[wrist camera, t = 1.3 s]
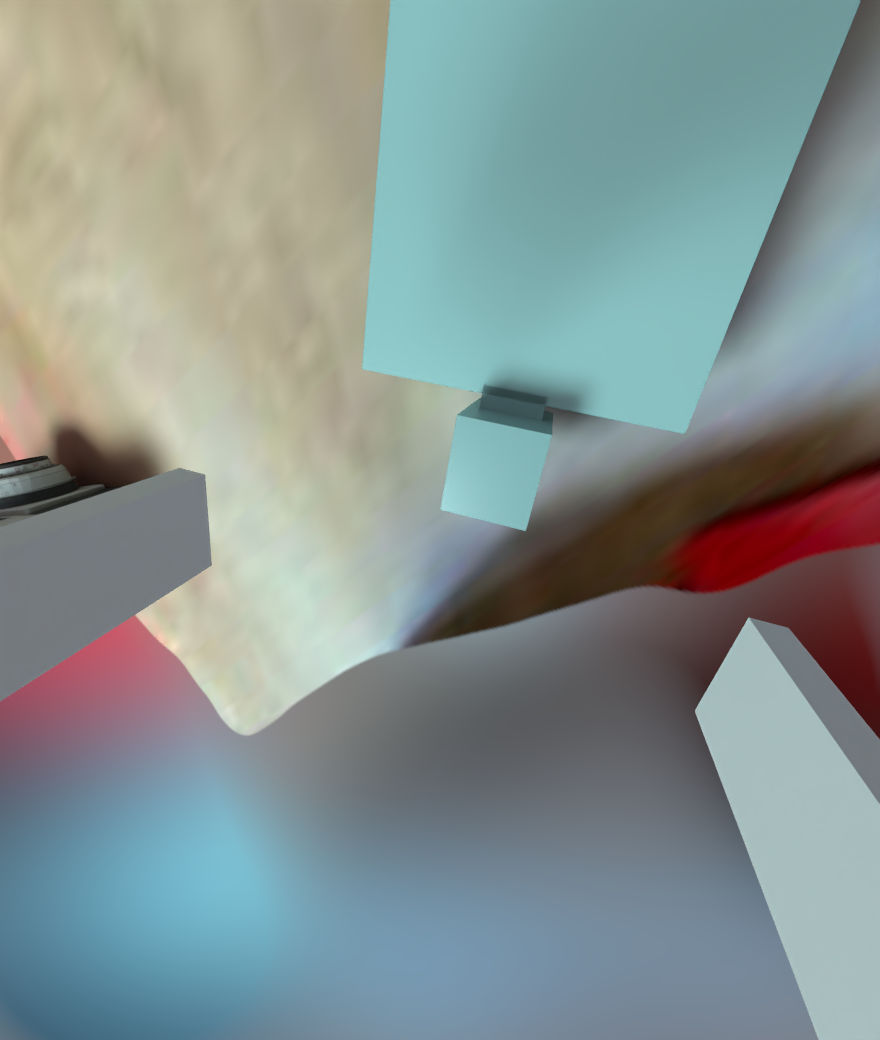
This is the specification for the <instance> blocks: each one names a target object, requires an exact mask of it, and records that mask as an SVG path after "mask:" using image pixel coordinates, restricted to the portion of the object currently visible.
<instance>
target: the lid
mask: <svg viewBox="0 0 880 1040" xmlns="http://www.w3.org/2000/svg"><path fill="white" fill-rule="evenodd" d="M860 1H861V0H391V2H390V15H389V28H388V41H387V54H386V67H385V80H384V93H383V106H382V119H381V132H380V145H379V157H378V170H377V183H376V196H375V209H374V222H373V235H372V248H371V261H370V274H369V287H368V300H367V313H366V326H365V339H364V352H363V365H362V369H364V370H369V371H374V372H379V373H384V374H389V375H394V376H399V377H404V378H409V379H414V380H419V381H424V382H429V383H434V384H439V385H444V386H449V387H454V388H459V389H464V390H469V391H474V392H478V393H482V397H481V398H479V399H478V400H477V401H475V402H474V403H473V404H471V405H470V406H469V407H467V408H466V409H465V410H463V411H462V412H461V413H459V414H458V415H457V418H456V424H455V429H454V435H453V441H452V447H451V452H450V458H449V464H448V470H447V475H446V481H445V487H444V493H443V498H442V504H441V510H444V511H448V512H452V513H456V514H460V515H464V516H468V517H472V518H476V519H480V520H484V521H488V522H492V523H496V524H500V525H504V526H508V527H512V528H516V529H520V530H524V531H526V528H527V524H528V521H529V517H530V513H531V510H532V506H533V502H534V499H535V495H536V491H537V488H538V484H539V480H540V477H541V473H542V469H543V466H544V462H545V458H546V455H547V451H548V447H549V444H550V440H551V437H552V422H553V413H551V412H546V411H544V410H545V407H546V406H548V407H553V408H558V409H563V410H568V411H573V412H578V413H583V414H588V415H593V416H598V417H603V418H608V419H613V420H618V421H623V422H628V423H633V424H638V425H643V426H648V427H653V428H658V429H663V430H668V431H673V432H678V433H683V434H685V432H686V430H687V427H688V425H689V422H690V420H691V417H692V415H693V412H694V410H695V407H696V405H697V402H698V400H699V398H700V395H701V393H702V390H703V388H704V385H705V383H706V380H707V378H708V375H709V373H710V370H711V368H712V366H713V363H714V361H715V358H716V356H717V353H718V351H719V348H720V346H721V343H722V341H723V339H724V336H725V334H726V331H727V329H728V326H729V324H730V321H731V319H732V316H733V314H734V311H735V309H736V307H737V304H738V302H739V299H740V297H741V294H742V292H743V289H744V287H745V284H746V282H747V279H748V277H749V275H750V272H751V270H752V267H753V265H754V262H755V260H756V257H757V255H758V252H759V250H760V247H761V245H762V243H763V240H764V238H765V235H766V233H767V230H768V228H769V225H770V223H771V220H772V218H773V216H774V213H775V211H776V208H777V206H778V203H779V201H780V198H781V196H782V193H783V191H784V188H785V186H786V184H787V181H788V179H789V176H790V174H791V171H792V169H793V166H794V164H795V161H796V159H797V156H798V154H799V152H800V149H801V147H802V144H803V142H804V139H805V137H806V134H807V132H808V129H809V127H810V124H811V122H812V120H813V117H814V115H815V112H816V110H817V107H818V105H819V102H820V100H821V97H822V95H823V93H824V90H825V88H826V85H827V83H828V80H829V78H830V75H831V73H832V70H833V68H834V65H835V63H836V61H837V58H838V56H839V53H840V51H841V48H842V46H843V43H844V41H845V38H846V36H847V33H848V31H849V29H850V26H851V24H852V21H853V19H854V16H855V14H856V11H857V9H858V6H859V4H860Z"/></svg>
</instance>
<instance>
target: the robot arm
mask: <svg viewBox="0 0 880 1040" xmlns="http://www.w3.org/2000/svg"><path fill="white" fill-rule="evenodd" d="M211 565H212V562H211V549H210V535H209V522H208V508H207V495H206V481H205V475H204V474H200V473H197V472H193V471H189V470H185V469H181V468H178V469H175V470H172V471H169V472H166V473H163V474H160V475H157V476H154V477H151V478H148V479H145V480H142V481H139V482H136V483H133V484H130V485H127V486H124V487H121V488H118V489H115V490H111V491H108V492H105V493H102V494H99V495H96V496H93V497H90V498H87V499H84V500H81V501H78V502H75V503H72V504H69V505H66V506H63V507H60V508H57V509H54V510H51V511H48V512H45V513H42V514H39V515H36V516H33V517H30V518H27V519H24V520H21V521H18V522H14V523H11V524H8V525H5V526H2V527H0V701H1V700H3V699H4V698H6V697H8V696H9V695H11V694H12V693H14V692H15V691H17V690H18V689H20V688H22V687H23V686H25V685H26V684H28V683H29V682H31V681H33V680H34V679H36V678H37V677H39V676H40V675H42V674H43V673H45V672H46V671H48V670H50V669H51V668H53V667H54V666H56V665H57V664H59V663H60V662H62V661H64V660H65V659H67V658H68V657H70V656H71V655H73V654H75V653H76V652H78V651H79V650H81V649H82V648H84V647H85V646H87V645H89V644H90V643H92V642H93V641H95V640H96V639H98V638H99V637H101V636H102V635H104V634H106V633H107V632H109V631H110V630H112V629H113V628H115V627H117V626H118V625H120V624H121V623H123V622H124V621H126V620H127V619H129V618H130V617H132V616H134V615H135V614H137V613H138V612H140V611H141V610H143V609H145V608H146V607H148V606H149V605H151V604H152V603H154V602H155V601H157V600H159V599H160V598H162V597H163V596H165V595H166V594H168V593H169V592H171V591H173V590H174V589H176V588H177V587H179V586H180V585H182V584H183V583H185V582H187V581H188V580H190V579H191V578H193V577H194V576H196V575H197V574H199V573H201V572H202V571H204V570H205V569H207V568H208V567H210V566H211ZM695 712H696V715H697V717H698V721H699V723H700V726H701V728H702V731H703V734H704V737H705V739H706V742H707V744H708V747H709V750H710V752H711V755H712V758H713V760H714V763H715V766H716V768H717V771H718V774H719V776H720V779H721V782H722V784H723V787H724V789H725V792H726V795H727V798H728V800H729V803H730V806H731V808H732V811H733V813H734V816H735V819H736V821H737V824H738V826H739V829H740V832H741V835H742V837H743V840H744V842H745V845H746V848H747V851H748V853H749V856H750V859H751V861H752V864H753V867H754V869H755V872H756V875H757V877H758V880H759V882H760V885H761V888H762V890H763V893H764V896H765V898H766V901H767V903H768V906H769V909H770V912H771V914H772V917H773V919H774V922H775V925H776V928H777V930H778V933H779V936H780V938H781V941H782V943H783V946H784V949H785V951H786V954H787V957H788V959H789V962H790V965H791V967H792V970H793V973H794V975H795V978H796V980H797V983H798V986H799V988H800V991H801V994H802V997H803V999H804V1002H805V1005H806V1007H807V1010H808V1012H809V1015H810V1018H811V1020H812V1023H813V1026H814V1028H815V1031H816V1034H817V1036H818V1039H819V1040H880V740H879V738H878V737H877V736H876V735H875V734H874V732H873V731H872V730H871V729H870V727H869V726H868V725H867V724H866V723H865V721H864V720H863V719H862V718H861V717H860V715H859V714H858V713H857V712H856V710H855V709H854V708H853V707H852V705H851V704H850V703H849V702H848V700H847V699H846V698H845V697H844V696H843V694H842V693H841V692H840V691H839V689H838V688H837V687H836V686H835V685H834V683H833V682H832V681H831V680H830V678H829V677H828V676H827V675H826V674H825V672H824V671H823V670H822V669H821V668H820V666H819V665H818V664H817V662H816V661H815V660H814V659H813V658H812V656H811V655H810V654H809V653H808V651H807V650H806V649H805V648H804V647H803V646H802V644H801V643H800V642H799V641H798V639H797V638H796V637H795V635H794V634H793V633H792V632H791V631H790V629H789V628H786V627H782V626H779V625H775V624H771V623H767V622H763V621H759V620H756V619H752V618H748V620H747V622H746V623H745V625H744V627H743V628H742V630H741V632H740V634H739V635H738V637H737V639H736V641H735V642H734V644H733V646H732V648H731V649H730V651H729V653H728V654H727V656H726V658H725V660H724V661H723V663H722V665H721V667H720V668H719V670H718V672H717V673H716V675H715V677H714V679H713V680H712V682H711V684H710V686H709V687H708V689H707V691H706V693H705V694H704V696H703V698H702V700H701V701H700V703H699V705H698V707H697V708H696V710H695Z"/></svg>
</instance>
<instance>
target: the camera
mask: <svg viewBox="0 0 880 1040" xmlns="http://www.w3.org/2000/svg"><path fill="white" fill-rule="evenodd" d="M73 479H76V477H71V475H70V474H69V472H68V471H67V469H66V468H65V466H64V465H62V464H57V465H52V463H51V461H50V459H49V458H48V457H47V456H39V457H33V458H27V459H22V460H17V461H12V462H7V463H3V464H0V527H2V526H5V525H8V524H11V523H14V522H18V521H21V520H24V519H27V518H30V517H33V516H36V515H39V514H42V513H45V512H48V511H51V510H54V509H57V508H60V507H63V506H66V505H69V504H72V503H75V502H78V501H81V500H84V499H87V498H90V497H93V496H96V495H99V494H102V493H105V492H108V491H111V490H115V489H118V488H121V487H111V488H105V486H104V484H99V485H89V486H79V487H78V486H77V485H76V483H75V482H74V480H73ZM122 487H124V486H122Z"/></svg>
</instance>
